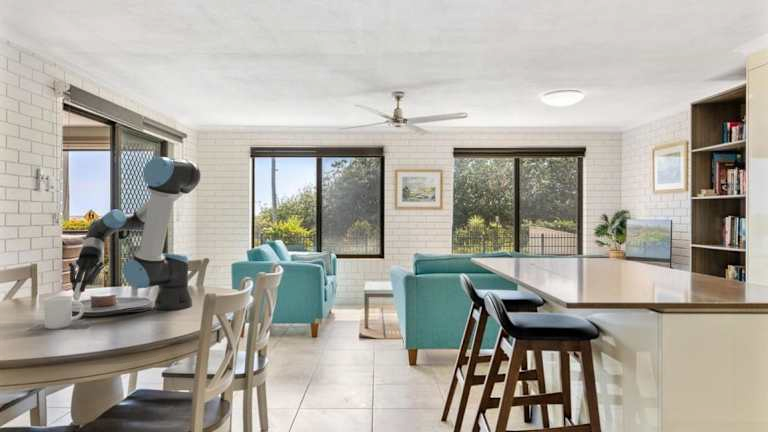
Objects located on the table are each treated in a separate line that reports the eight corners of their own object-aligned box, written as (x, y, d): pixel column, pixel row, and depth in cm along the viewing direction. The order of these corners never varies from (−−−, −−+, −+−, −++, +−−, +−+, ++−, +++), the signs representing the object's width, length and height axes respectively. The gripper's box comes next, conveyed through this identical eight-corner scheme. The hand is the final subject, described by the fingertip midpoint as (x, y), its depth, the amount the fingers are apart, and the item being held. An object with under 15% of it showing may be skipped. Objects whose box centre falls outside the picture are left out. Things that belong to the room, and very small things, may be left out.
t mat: (101, 320, 183) (101, 319, 183) (86, 329, 170) (86, 328, 170) (46, 322, 180) (46, 321, 180) (26, 332, 166) (26, 330, 166)
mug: (84, 321, 180) (83, 294, 180) (84, 326, 173) (83, 297, 173) (45, 325, 174) (44, 297, 173) (43, 330, 167) (43, 301, 166)
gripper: (111, 256, 204) (97, 303, 188) (77, 257, 201) (60, 304, 185) (106, 245, 198) (91, 292, 183) (71, 245, 196) (53, 293, 180)
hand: (75, 298), depth 184 cm, fingers closed
